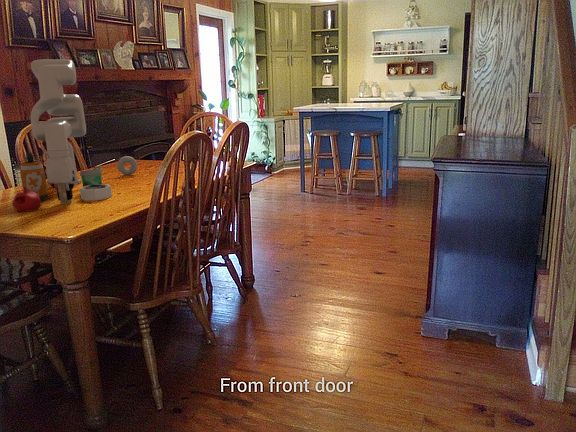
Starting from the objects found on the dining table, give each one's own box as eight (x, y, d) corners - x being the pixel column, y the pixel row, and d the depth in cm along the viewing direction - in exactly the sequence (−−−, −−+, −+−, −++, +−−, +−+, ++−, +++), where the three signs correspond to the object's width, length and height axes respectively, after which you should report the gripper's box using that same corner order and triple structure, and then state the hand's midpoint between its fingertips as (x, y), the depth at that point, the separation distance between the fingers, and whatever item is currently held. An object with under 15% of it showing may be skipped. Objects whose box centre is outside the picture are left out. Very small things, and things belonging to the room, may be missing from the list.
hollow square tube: (86, 197, 206) (85, 187, 205) (93, 194, 211) (92, 184, 210) (99, 197, 205) (98, 187, 204) (105, 194, 211) (104, 184, 210)
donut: (138, 173, 261) (136, 155, 259) (138, 174, 258) (136, 155, 256) (118, 175, 258) (116, 156, 256) (118, 176, 255) (116, 157, 252)
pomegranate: (35, 205, 198) (31, 182, 196) (46, 208, 192) (43, 185, 189) (9, 210, 191) (4, 187, 188) (20, 214, 185) (16, 190, 182)
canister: (25, 203, 202) (16, 154, 196) (25, 198, 211) (16, 151, 206) (49, 200, 206) (41, 152, 200) (48, 195, 215) (40, 149, 210)
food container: (95, 193, 216) (92, 171, 214) (82, 193, 217) (79, 171, 215) (110, 187, 228) (107, 166, 225) (98, 187, 229) (95, 166, 226)
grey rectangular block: (60, 204, 198) (57, 182, 196) (64, 202, 201) (61, 180, 199) (67, 204, 198) (64, 182, 196) (71, 202, 201) (68, 180, 199)
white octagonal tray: (77, 200, 204) (75, 190, 202) (90, 194, 215) (89, 184, 213) (103, 200, 202) (101, 189, 201) (115, 194, 213) (114, 184, 212)
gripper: (33, 155, 192) (41, 201, 197) (73, 155, 190) (80, 201, 195) (44, 153, 199) (51, 197, 204) (83, 152, 197) (89, 197, 202)
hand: (65, 199), depth 199 cm, fingers closed on grey rectangular block, 3 cm apart
